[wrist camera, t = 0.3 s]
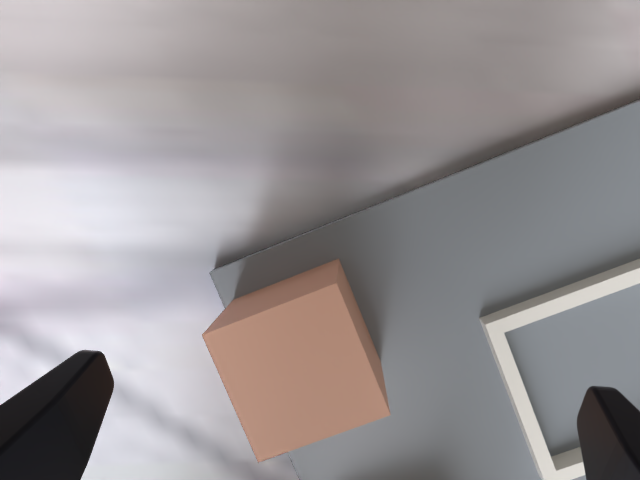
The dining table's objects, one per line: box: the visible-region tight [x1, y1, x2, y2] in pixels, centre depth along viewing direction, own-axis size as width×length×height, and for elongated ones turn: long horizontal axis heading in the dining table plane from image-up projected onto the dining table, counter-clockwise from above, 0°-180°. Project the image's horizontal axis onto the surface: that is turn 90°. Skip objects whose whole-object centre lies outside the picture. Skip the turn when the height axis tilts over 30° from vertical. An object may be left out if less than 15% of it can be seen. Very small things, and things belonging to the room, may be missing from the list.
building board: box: [210, 99, 640, 480], centre depth 23 cm, size 20×20×2 cm
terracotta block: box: [202, 258, 391, 462], centre depth 20 cm, size 5×5×5 cm
